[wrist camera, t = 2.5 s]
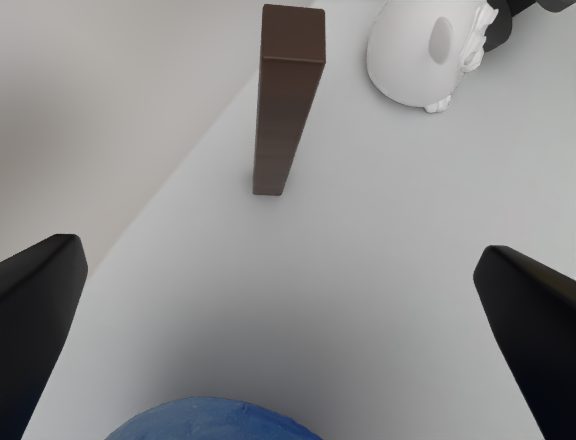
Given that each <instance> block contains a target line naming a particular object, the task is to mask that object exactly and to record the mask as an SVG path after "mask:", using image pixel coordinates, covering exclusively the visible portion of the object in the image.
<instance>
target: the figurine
mask: <svg viewBox="0 0 576 440" xmlns="http://www.w3.org/2000/svg"><path fill="white" fill-rule="evenodd" d="M497 14H498V9H495V10H493V8H492V7H491V6H489V4H488V3H487V0H388V2H387V3H386V4H385V5H384V7H383V8H382V10H381V11H380V13H379V15H378V16H377V18H376V20H375V22H374V25H373V27H372V30H371V33H370V37H369V41H368V47H367V70H368V74H369V76H370V79H371V80H372V82H373V83H374V84H375V86H376V87H377V88H378V89H379V90H380V91H381V92H382V93H384V94H385V95H386V96H387V97H389V98H391V99H392V100H394V101H396V102H399V103H401V104H404V105H408V106H414V107H424V108H425V110H426V111H427V112H429V113H433V112H435V111H438V112H441V111H444V110H445V109H446V108H447V107H448V103H449V102H450V100H451V93H452V92H453V91H454V90H455V89H456V87H457V86H458V85H459V83H460V82H461V80H462V78H463V76H464V74H465V72H469V71H473V70H475V69H476V68H478V67H479V65H480V64H481V59H482V57H483V55H484V49H483V47H482V46H483V45H484V43H485V41H486V36H484V34H485V30H486V29H487V27H488V25H489V24H492V23H493V21H494V19H495V18H496V16H497ZM483 36H484V37H483Z"/></svg>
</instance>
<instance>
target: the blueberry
mask: <svg viewBox="0 0 576 440" xmlns="http://www.w3.org/2000/svg"><path fill="white" fill-rule="evenodd" d="M105 440H322V439H321V438H320V437H319V436H318V435H316V434H314V433H312V432H310V431H309V430H308V429H307V428H305V427H304V426H302V425H300V424H298V423H296V422H295V421H294V420H293V419H291V418H288V417H285V416H282V415H280V414H278V413H276V412H273V411H270V410H267V409H264V408H262V407H260V406H256V405H252V404H250V403H247V402H242V401H235V400H228V399H222V398H215V397H191V398H187V399H182V400H176V401H173V402H168V403H164V404H161V405H159V406H157V407H154V408H151V409H149V410H147V411H145V412H143V413H141V414H139V415H136V416H134V417H133V418H131V419H130V420H128V421H127V422H126V423H124V424H123V425H122V426H120V427H119V428H118V429H116V430H115V431H114V432H112V433H111V434H110V435H109V436H108V437H107V438H106V439H105Z"/></svg>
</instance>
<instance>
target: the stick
mask: <svg viewBox="0 0 576 440" xmlns="http://www.w3.org/2000/svg"><path fill="white" fill-rule="evenodd" d="M325 64H326V40H325V11H324V10H323V9H314V8H304V7H303V8H302V7H293V6H282V5H272V4H265V5H264V7H263V14H262V31H261V49H260V66H259V84H258V101H257V119H256V136H255V154H254V174H253V194H257V195H281V194H282V191H283V189H284V186H285V183H286V180H287V177H288V174H289V171H290V168H291V165H292V162H293V159H294V156H295V153H296V150H297V147H298V144H299V141H300V138H301V135H302V132H303V129H304V126H305V123H306V120H307V117H308V114H309V111H310V108H311V105H312V102H313V99H314V96H315V93H316V90H317V87H318V84H319V81H320V79H321V76H322V73H323V70H324V67H325Z"/></svg>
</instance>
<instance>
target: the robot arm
mask: <svg viewBox="0 0 576 440" xmlns="http://www.w3.org/2000/svg"><path fill="white" fill-rule="evenodd" d="M87 273H88V265H87V261H86V257H85V254H84V250H83V247H82V243H81V240H80V238H79V236H77V235H75V234H55V235H53V236H50V237H49V238H47V239H45V240H43V241H41V242H39V243H37V244H35V245H33V246H31V247H29V248H27V249H25V250H23V251H21V252H19V253H17V254H15V255H13V256H12V257H10V258H8V259H6V260H4V261H2V262H0V440H21V438H22V436H23V434H24V431H25V429H26V427H27V425H28V423H29V420H30V418H31V416H32V414H33V412H34V410H35V407H36V405H37V403H38V401H39V399H40V397H41V394H42V392H43V390H44V388H45V386H46V383H47V381H48V379H49V377H50V375H51V373H52V370H53V368H54V366H55V364H56V362H57V360H58V357H59V355H60V353H61V351H62V348H63V346H64V344H65V341H66V339H67V336H68V333H69V330H70V327H71V324H72V321H73V318H74V315H75V312H76V309H77V306H78V303H79V299H80V296H81V293H82V290H83V287H84V284H85V281H86V278H87ZM473 280H474V284H475V287H476V289H477V292H478V295H479V297H480V300H481V303H482V305H483V308H484V311H485V313H486V316H487V319H488V321H489V324H490V327H491V329H492V332H493V334H494V337H495V339H496V341H497V344H498V346H499V348H500V350H501V352H502V354H503V356H504V358H505V360H506V362H507V364H508V366H509V368H510V370H511V372H512V374H513V376H514V378H515V380H516V382H517V384H518V386H519V388H520V390H521V392H522V394H523V396H524V398H525V400H526V402H527V404H528V406H529V408H530V410H531V412H532V414H533V416H534V418H535V420H536V422H537V424H538V426H539V428H540V431H541V433H542V435H543V437H544V439H545V440H576V281H575V280H573V279H571V278H569V277H567V276H565V275H563V274H561V273H559V272H557V271H555V270H553V269H551V268H549V267H547V266H545V265H543V264H542V263H540V262H538V261H536V260H534V259H532V258H530V257H528V256H526V255H524V254H522V253H520V252H518V251H516V250H514V249H512V248H510V247H508V246H499V245H490V246H488V247H486V248H485V250H484V251H483V253H482V256H481V258H480V260H479V262H478V264H477V266H476V268H475V271H474V274H473Z"/></svg>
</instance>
